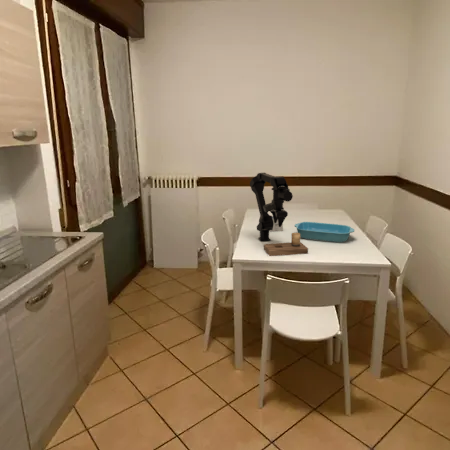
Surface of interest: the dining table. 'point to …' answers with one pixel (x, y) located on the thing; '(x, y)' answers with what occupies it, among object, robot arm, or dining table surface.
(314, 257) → the dining table surface
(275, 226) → the light bulb box
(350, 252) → the dining table surface
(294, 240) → the oak peg
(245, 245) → the dining table surface
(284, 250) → the walnut board
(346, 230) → the casserole dish
